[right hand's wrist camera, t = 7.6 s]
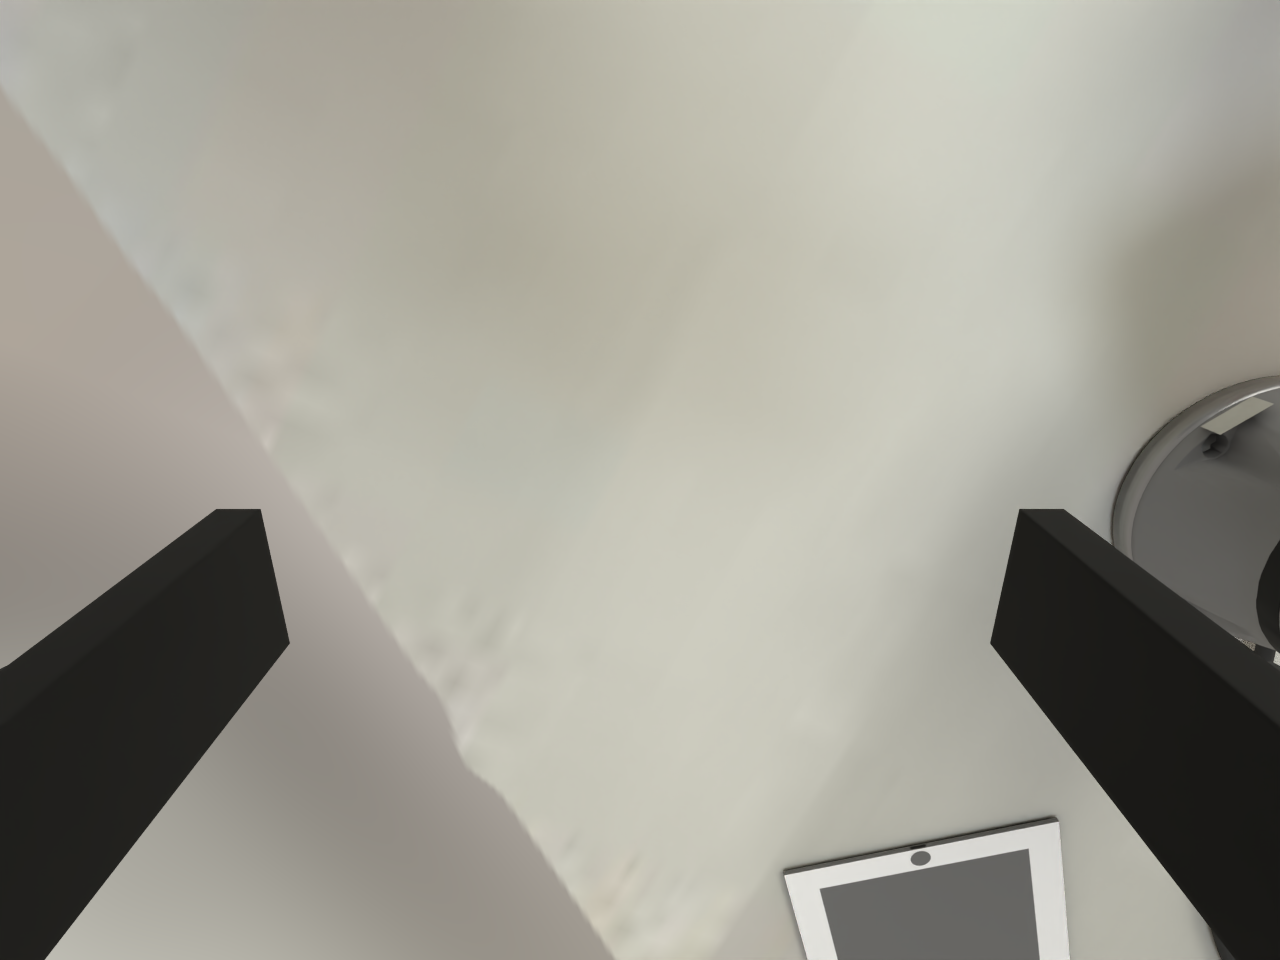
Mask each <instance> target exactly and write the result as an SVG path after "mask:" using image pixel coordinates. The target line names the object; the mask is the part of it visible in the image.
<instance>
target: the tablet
mask: <svg viewBox="0 0 1280 960" xmlns="http://www.w3.org/2000/svg"><path fill="white" fill-rule="evenodd" d="M783 873H784V877H785V881H786V884H787V888H788V891H789V895H790V898H791V902H792V905H793V909H794V913H795V916H796V920H797V923H798V927H799V930H800V934H801V938H802V941H803V945H804V948H805V952H806V955H807V959H808V960H1070V956H1069V943H1068V930H1067V917H1066V904H1065V891H1064V878H1063V866H1062V853H1061V840H1060V827H1059V820H1058V819H1057V818H1051V819H1046V820H1041V821H1036V822H1031V823H1026V824H1021V825H1015V826H1010V827H1005V828H1000V829H995V830H990V831H985V832H980V833H975V834H970V835H965V836H959V837H954V838H949V839H944V840H939V841H934V842H929V843H924V844H919V845H914V846H909V847H903V848H898V849H893V850H888V851H883V852H878V853H873V854H868V855H863V856H858V857H853V858H847V859H842V860H837V861H832V862H827V863H822V864H817V865H812V866H807V867H802V868H797V869H791V870H786V871H783Z"/></svg>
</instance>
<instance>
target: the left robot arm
mask: <svg viewBox="0 0 1280 960" xmlns="http://www.w3.org/2000/svg"><path fill="white" fill-rule="evenodd" d="M1113 542H1114V547H1115V548H1116V549H1118V550H1119V551H1120V552H1122V553H1123V554H1124V555H1126V556H1127V557H1128V558H1130V559H1131V560H1132V561H1134V562H1135V563H1136V564H1138V565H1139V566H1140V567H1142V568H1143V569H1144V570H1146V571H1147V572H1148V573H1150V574H1151V575H1152V576H1154V577H1155V578H1156V579H1158V580H1159V581H1160V582H1162V583H1163V584H1164V585H1166V586H1167V587H1168V588H1170V589H1171V590H1172V591H1174V592H1175V593H1176V594H1178V595H1179V596H1180V597H1182V598H1183V599H1184V600H1186V601H1187V602H1188V603H1190V604H1191V605H1192V606H1194V607H1195V608H1196V609H1198V610H1199V611H1200V612H1202V613H1203V614H1204V615H1206V616H1207V617H1208V618H1210V619H1211V620H1212V621H1214V622H1215V623H1216V624H1218V625H1219V626H1220V627H1222V628H1223V629H1224V630H1226V631H1227V632H1228V633H1230V634H1231V635H1232V636H1234V637H1237V638H1240V639H1243V640H1246V641H1249V642H1252V643H1255V644H1256V645H1255V650H1254V652H1255V653H1256V654H1258V655H1259V656H1260V657H1262V658H1263V659H1264V660H1266V661H1267V662H1273V661H1274V656H1275V652H1276V651H1277V652H1279V653H1280V376H1271V377H1264V378H1258V379H1253V380H1249V381H1246V382H1242V383H1239V384H1236V385H1233V386H1230V387H1228V388H1225V389H1223V390H1220V391H1218V392H1216V393H1214V394H1212V395H1210V396H1208V397H1206V398H1204V399H1202V400H1201V401H1199V402H1197V403H1195V404H1194V405H1192V406H1191V407H1189V408H1188V409H1186V410H1185V411H1183V412H1182V413H1181V414H1179V415H1178V416H1177V417H1175V418H1174V419H1173V420H1172V421H1171V422H1169V423H1168V424H1167V425H1166V426H1165V427H1164V428H1163V429H1162V430H1161V431H1160V432H1159V433H1158V434H1157V435H1156V436H1155V437H1154V438H1153V439H1152V440H1151V441H1150V442H1149V443H1148V445H1147V446H1146V447H1145V448H1144V449H1143V451H1142V452H1141V453H1140V455H1139V456H1138V458H1137V459H1136V461H1135V462H1134V464H1133V465H1132V467H1131V469H1130V470H1129V472H1128V474H1127V476H1126V478H1125V480H1124V482H1123V484H1122V487H1121V489H1120V492H1119V495H1118V498H1117V502H1116V506H1115V510H1114V517H1113ZM1211 930H1212V929H1211ZM1212 933H1213V937H1214V940H1215V943H1216V946H1217V949H1218V952H1219V954H1220V957H1221V959H1222V960H1235V959H1234V957H1233V956H1232V955H1231V953H1230V952H1229V951H1228V950H1227V948H1226V947H1225V946H1224V944H1223V943H1222V942H1221V940H1220V939H1219V938H1218V937H1217V935H1216V934H1215V933H1214V931H1213V930H1212Z"/></svg>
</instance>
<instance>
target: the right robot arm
mask: <svg viewBox="0 0 1280 960" xmlns="http://www.w3.org/2000/svg"><path fill="white" fill-rule="evenodd" d="M289 644H290V642H289V638H288V633H287V628H286V624H285V619H284V615H283V610H282V605H281V601H280V596H279V592H278V587H277V582H276V578H275V573H274V569H273V564H272V560H271V555H270V550H269V546H268V541H267V536H266V532H265V527H264V523H263V518H262V513H261V509H216V510H215V511H213V512H212V513H210V514H209V515H208V516H206V517H205V518H204V519H202V520H201V521H200V522H198V523H197V524H196V525H194V526H193V527H192V528H190V529H189V530H188V531H186V532H185V533H184V534H183V535H181V536H180V537H178V538H177V539H176V540H174V541H173V542H172V543H170V544H169V545H168V546H167V547H165V548H164V549H162V550H161V551H160V552H159V553H157V554H156V555H155V556H153V557H152V558H150V559H149V560H148V561H146V562H145V563H144V564H142V565H141V566H140V567H138V568H137V569H136V570H135V571H133V572H132V573H130V574H129V575H128V576H126V577H125V578H124V579H122V580H121V581H120V582H118V583H117V584H116V585H114V586H113V587H112V588H110V589H109V590H108V591H106V592H105V593H104V594H102V595H101V596H100V597H98V598H97V599H96V600H94V601H93V602H92V603H91V604H89V605H88V606H86V607H85V608H84V609H82V610H81V611H80V612H78V613H77V614H76V615H74V616H73V617H72V618H70V619H69V620H68V621H66V622H65V623H64V624H62V625H61V626H60V627H58V628H57V629H56V630H54V631H53V632H52V633H50V634H49V635H48V636H46V637H45V638H44V639H43V640H41V641H40V642H38V643H37V644H36V645H34V646H33V647H32V648H30V649H29V650H28V651H26V652H25V653H24V654H22V655H21V656H20V657H18V658H17V659H16V660H15V661H13V662H12V663H10V664H9V665H7V666H5V667H3V668H1V669H0V960H45V959H46V957H47V956H48V955H49V953H50V952H51V951H52V949H53V948H54V947H55V946H56V944H57V943H58V942H59V940H60V939H61V938H62V937H63V935H64V934H65V933H66V931H67V930H68V929H69V928H70V926H71V925H72V924H73V922H74V921H75V920H76V918H77V917H78V916H79V915H80V913H81V912H82V911H83V910H84V908H85V907H86V906H87V904H88V903H89V902H90V900H91V899H92V898H93V897H94V895H95V894H96V893H97V891H98V890H99V889H100V888H101V886H102V885H103V884H104V882H105V881H106V880H107V878H108V877H109V876H110V875H111V873H112V872H113V871H114V870H115V868H116V867H117V866H118V864H119V863H120V862H121V860H122V859H123V858H124V857H125V855H126V854H127V853H128V851H129V850H130V849H131V848H132V846H133V845H134V844H135V842H136V841H137V840H138V838H139V837H140V836H141V835H142V833H143V832H144V831H145V829H146V828H147V827H148V826H149V824H150V823H151V822H152V820H153V819H154V818H155V817H156V815H157V814H158V813H159V811H160V810H161V809H162V808H163V806H164V805H165V804H166V802H167V801H168V800H169V798H170V797H171V796H172V795H173V793H174V792H175V791H176V789H177V788H178V787H179V786H180V784H181V783H182V782H183V780H184V779H185V778H186V777H187V775H188V774H189V773H190V771H191V770H192V769H193V768H194V766H195V765H196V764H197V762H198V761H199V760H200V759H201V757H202V756H203V755H204V753H205V752H206V751H207V749H208V748H209V747H210V746H211V744H212V743H213V742H214V740H215V739H216V738H217V737H218V735H219V734H220V733H221V731H222V730H223V729H224V728H225V726H226V725H227V724H228V722H229V721H230V720H231V718H232V717H233V716H234V715H235V713H236V712H237V711H238V709H239V708H240V707H241V706H242V704H243V703H244V702H245V700H246V699H247V698H248V697H249V695H250V694H251V693H252V691H253V690H254V689H255V688H256V686H257V685H258V684H259V682H260V681H261V680H262V679H263V677H264V676H265V675H266V673H267V672H268V671H269V669H270V668H271V667H272V666H273V664H274V663H275V662H276V660H277V659H278V658H279V657H280V655H281V654H282V653H283V651H284V650H285V649H286V648H287V646H288V645H289ZM990 644H991V645H992V646H993V648H994V649H995V650H996V651H997V653H998V654H999V655H1000V657H1001V658H1002V659H1003V660H1004V662H1005V663H1006V664H1007V666H1008V667H1009V668H1010V670H1011V671H1012V672H1013V673H1014V675H1015V676H1016V677H1017V679H1018V680H1019V681H1020V682H1021V684H1022V685H1023V686H1024V688H1025V689H1026V690H1027V691H1028V693H1029V694H1030V695H1031V697H1032V698H1033V699H1034V700H1035V702H1036V703H1037V704H1038V706H1039V707H1040V708H1041V710H1042V711H1043V712H1044V713H1045V715H1046V716H1047V717H1048V719H1049V720H1050V721H1051V722H1052V724H1053V725H1054V726H1055V728H1056V729H1057V730H1058V731H1059V733H1060V734H1061V735H1062V737H1063V738H1064V739H1065V740H1066V742H1067V743H1068V744H1069V746H1070V747H1071V748H1072V750H1073V751H1074V752H1075V753H1076V755H1077V756H1078V757H1079V759H1080V760H1081V761H1082V762H1083V764H1084V765H1085V766H1086V768H1087V769H1088V770H1089V771H1090V773H1091V774H1092V775H1093V777H1094V778H1095V779H1096V780H1097V782H1098V783H1099V784H1100V786H1101V787H1102V788H1103V790H1104V791H1105V792H1106V793H1107V795H1108V796H1109V797H1110V799H1111V800H1112V801H1113V802H1114V804H1115V805H1116V806H1117V808H1118V809H1119V810H1120V811H1121V813H1122V814H1123V815H1124V817H1125V818H1126V819H1127V820H1128V822H1129V823H1130V824H1131V826H1132V827H1133V828H1134V830H1135V831H1136V832H1137V833H1138V835H1139V836H1140V837H1141V839H1142V840H1143V841H1144V842H1145V844H1146V845H1147V846H1148V848H1149V849H1150V850H1151V851H1152V853H1153V854H1154V855H1155V857H1156V858H1157V859H1158V860H1159V862H1160V863H1161V864H1162V866H1163V867H1164V868H1165V870H1166V871H1167V872H1168V873H1169V875H1170V876H1171V877H1172V879H1173V880H1174V881H1175V882H1176V884H1177V885H1178V886H1179V888H1180V889H1181V890H1182V891H1183V893H1184V894H1185V895H1186V897H1187V898H1188V899H1189V900H1190V902H1191V903H1192V904H1193V906H1194V907H1195V908H1196V910H1197V911H1198V912H1199V913H1200V915H1201V916H1202V917H1203V919H1204V920H1205V921H1206V922H1207V924H1208V925H1209V926H1210V928H1211V929H1212V930H1213V931H1214V933H1215V934H1216V935H1217V937H1218V938H1219V939H1220V940H1221V942H1222V943H1223V944H1224V946H1225V947H1226V948H1227V950H1228V951H1229V952H1230V953H1231V955H1232V956H1233V957H1234V959H1235V960H1280V666H1279V665H1277V664H1275V663H1273V662H1267V661H1266V660H1264V659H1263V658H1262V657H1260V656H1259V655H1258V654H1256V653H1255V652H1254V651H1252V650H1251V649H1250V648H1248V647H1247V646H1246V645H1244V644H1243V643H1242V642H1240V641H1239V640H1238V639H1236V638H1235V637H1234V636H1232V635H1231V634H1230V633H1228V632H1227V631H1226V630H1224V629H1223V628H1222V627H1220V626H1219V625H1218V624H1216V623H1215V622H1214V621H1212V620H1211V619H1210V618H1208V617H1207V616H1206V615H1204V614H1203V613H1202V612H1200V611H1199V610H1198V609H1196V608H1195V607H1194V606H1192V605H1191V604H1190V603H1188V602H1187V601H1186V600H1184V599H1183V598H1182V597H1180V596H1179V595H1178V594H1176V593H1175V592H1174V591H1172V590H1171V589H1170V588H1168V587H1167V586H1166V585H1164V584H1163V583H1162V582H1160V581H1159V580H1158V579H1156V578H1155V577H1154V576H1152V575H1151V574H1150V573H1148V572H1147V571H1146V570H1144V569H1143V568H1142V567H1140V566H1139V565H1138V564H1136V563H1135V562H1134V561H1132V560H1131V559H1130V558H1128V557H1127V556H1126V555H1124V554H1123V553H1122V552H1120V551H1119V550H1118V549H1116V548H1115V547H1114V546H1112V545H1111V544H1110V543H1108V542H1107V541H1106V540H1104V539H1103V538H1102V537H1100V536H1099V535H1098V534H1096V533H1095V532H1094V531H1092V530H1091V529H1090V528H1088V527H1087V526H1086V525H1084V524H1083V523H1082V522H1080V521H1079V520H1078V519H1076V518H1075V517H1074V516H1072V515H1071V514H1070V513H1068V512H1067V511H1066V510H1064V509H1019V513H1018V518H1017V523H1016V527H1015V532H1014V536H1013V541H1012V546H1011V550H1010V555H1009V559H1008V564H1007V569H1006V573H1005V578H1004V582H1003V587H1002V592H1001V596H1000V601H999V605H998V610H997V614H996V619H995V624H994V628H993V633H992V637H991V642H990Z"/></svg>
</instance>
